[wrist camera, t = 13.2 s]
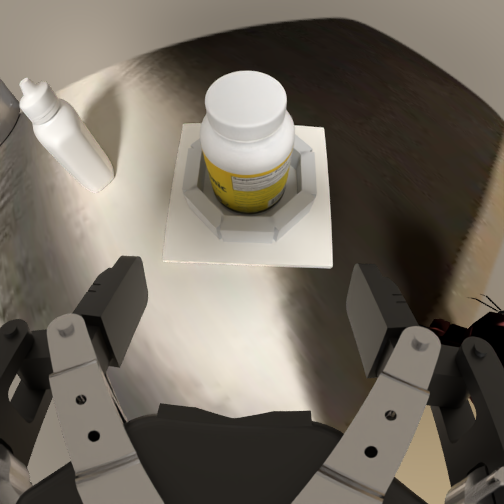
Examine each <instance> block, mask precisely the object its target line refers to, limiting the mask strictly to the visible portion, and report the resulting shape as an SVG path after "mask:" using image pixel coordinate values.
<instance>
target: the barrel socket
mask: <svg viewBox="0 0 504 504" xmlns="http://www.w3.org/2000/svg"><path fill="white" fill-rule="evenodd" d="M200 127H201V123H183V127H182V132H181V137H180V143H179V148H178V153H177V159H176V165H175V170H174V176H173V183H172V189H171V195H170V202H169V209H168V216H167V224H166V231H165V239H164V248H163V257H162V260H163V261H164V262H177V263H200V264H223V265H249V266H276V267H305V268H331V267H333V261H332V231H331V211H330V194H329V179H328V167H327V155H326V144H325V134H324V128H321V127H309V126H297V125H294V127H295V141H294V146H293V151H292V156H291V162H290V167H289V172H288V178H287V183H286V188H285V192H284V194H283V197H282V199H281V200H280V202H279V203H278V204H277V205H276V206H275V207H274V208H273V209H271V210H270V211H268V212H266V213H264V214H261V215H257V216H241V215H237V214H234V213H232V212H230V211H228V210H227V209H225V208H224V207H223V206H222V205H221V204H220V203H219V201H218V200H217V198H216V196H215V194H214V191H213V187H212V184H211V181H210V177H209V173H208V170H207V166H206V163H205V159H204V155H203V151H202V147H201V142H200Z"/></svg>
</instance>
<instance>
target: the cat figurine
mask: <svg viewBox="0 0 504 504" xmlns="http://www.w3.org/2000/svg"><path fill="white" fill-rule="evenodd" d="M481 295H482V294H481ZM484 296H485V295H484ZM486 297H487V298H488V299H489V300H490V301H491V302H492V303H493V304H494V305H495V306H496V307H497V308H498V309H499V310H501V309H500V308H499V307H498V306H497V305H496V304H495V303H494V302H493V301H492V300H491V299H490V298H489V297H488V296H486ZM468 298H469V297H468ZM472 299H476V298H472ZM476 300H478V299H476ZM478 301H479V302H481V303H483V302H482V301H480V300H478ZM483 304H485V303H483ZM485 305H486V304H485ZM487 306H489V305H487ZM489 307H490V306H489ZM490 308H492V307H490ZM492 309H494V308H492ZM494 310H496V309H494ZM496 311H497V310H496ZM419 326H420V327H424V328H426V329H428V330H429V329H430V331H432V332H433V333H434V334H435V335H436V336H437V337H438V338H439V340H440V343H441V344H442V345H447V346H453V347H459V348H460V346H461V345H462V343H463V341H464V340H465V339H466V338H468V337H479V338H481V339H483V340H485V341H487V342H488V343H489V344H490V345H491V346H492V348H493V349H494V351H495V353H496V355H497V356H498V358H499V360H500V362H501V364H502V366H503V368H504V311H499V312H498V313H495V312H489V313H487V314H486V315H484V316H483V317H482V318H480V319H479V320H478V321H476V322H475V323H473V324H472V325H471V326H470V327H469V328H468V329H467V328H464V327H461V326H458V325H455V324H451V325H450V322H447V321H444V320H442V319H434V320H433V322H432V324H431V325H430V327H429V328H428V327H425V326H423V325H419ZM469 398H470V399H471V396H470V397H469ZM471 401H472V399H471ZM472 403H473V401H472Z"/></svg>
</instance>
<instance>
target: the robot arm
mask: <svg viewBox="0 0 504 504" xmlns="http://www.w3.org/2000/svg"><path fill="white" fill-rule="evenodd" d="M19 112H20V106H19V102H18V100H17V99H16V98H15V97H14V96H13V94H12V93H11V92H10V91H9V89H8V88H7V87H6V86H5V84H4V83H3V81H2V80H1V79H0V144H1V143H2V142H3V141H4V140H5V139H6V137H7V136H8V135H9V133H10V132H11V130H12V128H13V127H14V125H15V123H16V121H17V119H18V116H19ZM147 301H148V289H147V284H146V279H145V274H144V268H143V263H142V259H141V258H140V257H138V256H121V257H120V258H119V259H118V260H117V262H116V263H115V265H114V266H113V267H112V268H108V269H107V270H105V271H104V272H102V273H101V274H100V275H99V276H98V277H97V278H96V280H95V281H94V283H93V285H91V287H90V288H89V290H88V292H87V293H86V294H85V295H84V297H83V298H82V300H81V301H80V303H79V304H78V306H77V307H76V309H75V310H74V312H73V313H72V314H65V315H62V316H59V317H58V318H56V319H54V320H53V321H52V322H51V323H50V325H49V326H48V328H47V330H37V331H30V329H29V327H28V325H27V323H26V322H25V321H24V320H21V319H15V320H11V321H9V322H7V323H5V324H4V325H3V326H2V327H1V328H0V504H428V503H426V502H425V501H424V500H423V499H421V498H420V497H419V496H418V495H416V494H415V493H414V492H412V491H411V490H410V489H409V488H407V487H406V486H405V485H404V484H403V483H401V482H400V481H399V480H398V479H396V478H395V477H394V476H395V474H396V472H397V470H398V468H399V466H400V464H401V462H402V460H403V458H404V456H405V454H406V452H407V449H408V447H409V445H410V443H411V441H412V438H413V436H414V434H415V431H416V429H417V427H418V424H419V421H420V419H421V417H422V414H423V411H424V409H425V406H426V405H430V406H431V410H432V413H433V417H434V420H435V423H436V427H437V430H438V434H439V438H440V441H441V445H442V449H443V453H444V457H445V461H446V466H447V470H448V475H449V479H450V484H451V489H450V490H449V491H448V493H447V495H446V498H445V504H504V368H503V366H502V364H501V362H500V360H499V358H498V356H497V355H496V353H495V351H494V349H493V348H492V346H491V345H490V344H489V343H488V342H487V341H485V340H483V339H481V338H479V337H468V338H466V339H465V340H464V341H463V343H462V345H461V346H460V348H459V347H453V346H447V345H442V344H441V343H440V340H439V338H438V337H437V336H436V335H435V334H434V333H433V332H432V331H430V330H428V329H426V328H424V327H420V326H419V325H418V323H417V321H416V319H415V317H414V315H413V314H412V312H411V310H410V308H409V306H408V304H407V303H406V301H405V299H404V297H403V296H402V294H401V292H400V290H399V288H398V287H397V285H396V284H395V283H394V282H392V281H391V280H390V279H389V278H388V277H382V275H381V273H380V271H379V269H378V268H377V266H376V265H375V264H355V266H354V269H353V273H352V278H351V282H350V286H349V291H348V295H347V301H346V309H347V314H348V317H349V320H350V324H351V327H352V330H353V333H354V336H355V340H356V343H357V346H358V349H359V353H360V356H361V360H362V363H363V366H364V370H365V373H366V377H367V378H375V377H378V379H377V381H376V383H375V385H374V386H373V388H372V390H371V392H370V393H369V395H368V397H367V398H366V400H365V402H364V404H363V405H362V407H361V409H360V410H359V412H358V413H357V415H356V417H355V418H354V420H353V421H352V423H351V424H350V426H349V428H348V429H347V431H346V432H345V434H343V433H342V432H340V431H339V430H337V429H335V428H333V427H330V426H328V425H325V424H322V423H318V422H314V421H312V419H311V411H273V412H268V413H263V414H258V415H252V416H247V417H241V418H229V417H225V416H222V415H218V414H215V413H212V412H208V411H205V410H202V409H199V408H196V407H186V406H177V405H169V404H161V403H160V406H159V409H158V413H157V414H150V415H145V416H141V417H138V418H135V419H133V420H130V421H128V420H127V418H126V416H125V414H124V412H123V410H122V408H121V406H120V404H119V401H118V399H117V397H116V394H115V392H114V390H113V387H112V385H111V383H110V380H109V378H108V375H107V373H106V371H107V369H108V366H113V367H119V368H120V366H121V364H122V361H123V359H124V357H125V354H126V352H127V349H128V347H129V345H130V342H131V340H132V337H133V335H134V333H135V330H136V328H137V326H138V324H139V321H140V319H141V317H142V315H143V312H144V310H145V308H146V305H147ZM16 374H18V376H19V377H20V379H21V381H20V383H19V385H18V387H17V389H16V391H15V393H14V395H13V397H12V399H11V402H10V401H9V398H8V390H9V387H10V385H11V383H12V381H13V379H14V378H15V376H16ZM470 396H471V399H472V401H473V404H474V406H475V409H476V420H475V418H474V415H473V412H472V409H471V406H470V404H469V401H468V398H469V397H470ZM52 398H53V400H54V404H55V408H56V412H57V416H58V420H59V423H60V427H61V430H62V434H63V437H64V440H65V444H66V447H67V450H68V453H69V456H70V459H71V461H70V462H69V463H67V464H66V465H65V466H63V467H61V468H60V469H58V470H57V471H55V472H54V473H52V474H51V475H49V476H48V477H46V478H45V479H43V480H41V481H40V482H39V483H37V484H35V485H34V486H33V485H32V483H31V482H30V475H29V471H28V469H27V466H28V463H29V459H30V456H31V454H32V451H33V447H34V444H35V442H36V439H37V436H38V433H39V431H40V428H41V425H42V423H43V420H44V418H45V415H46V412H47V410H48V407H49V405H50V402H51V400H52Z"/></svg>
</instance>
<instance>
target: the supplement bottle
mask: <svg viewBox="0 0 504 504" xmlns="http://www.w3.org/2000/svg"><path fill="white" fill-rule="evenodd" d="M286 103H287V97H286V93H285V90H284V88H283V87H282V85H281V84H280V83H279V82H278V81H277V80H275V79H274V78H272V77H271V76H269V75H266V74H264V73H260V72H255V71H238V72H233V73H230V74H227V75H225V76H222V77H221V78H219V79H218V80H216V81H215V82H214V83H213V84H212V85H211V86H210V88H209V89H208V91H207V93H206V97H205V106H206V111H207V114H206V115H205V117H204V119H203V121H202V123H201V127H200V142H201V147H202V151H203V155H204V159H205V163H206V166H207V170H208V173H209V177H210V181H211V184H212V187H213V191H214V194H215V196H216V198H217V200H218V201H219V203H220V204H221V205H222V206H223V207H224V208H225V209H227V210H228V211H230V212H232V213H234V214H237V215H241V216H257V215H261V214H264V213H266V212H268V211H270V210H271V209H273V208H274V207H275V206H276V205H277V204H278V203H279V202H280V200H281V199H282V197H283V194H284V192H285V188H286V183H287V178H288V172H289V167H290V162H291V156H292V151H293V146H294V141H295V127H294V123H293V120H292V118H291V116H290V114H289V113H288V112H287V110H286Z"/></svg>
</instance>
